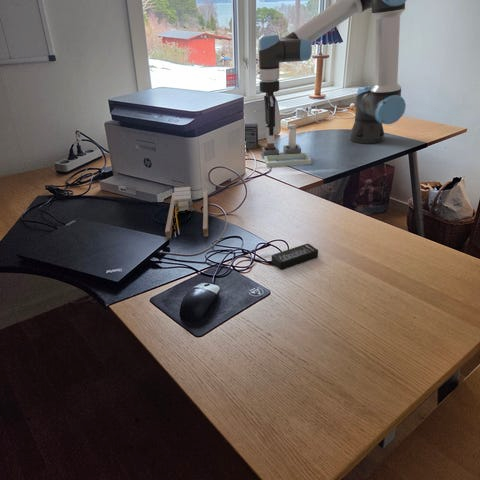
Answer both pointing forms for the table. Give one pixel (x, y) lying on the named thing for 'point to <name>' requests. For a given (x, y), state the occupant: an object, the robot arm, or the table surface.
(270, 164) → the parts tray
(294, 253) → the multiport hub
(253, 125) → the small box
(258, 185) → the table surface
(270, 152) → the fuse block
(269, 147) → the fuse
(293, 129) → the fuse
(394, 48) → the robot arm
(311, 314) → the table surface
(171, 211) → the cable rest strips
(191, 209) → the electrical component
